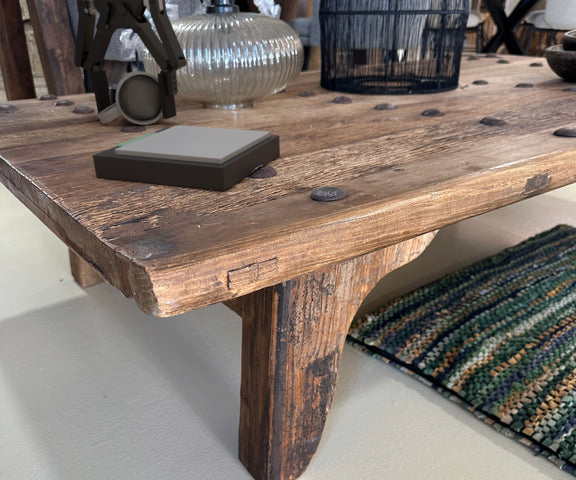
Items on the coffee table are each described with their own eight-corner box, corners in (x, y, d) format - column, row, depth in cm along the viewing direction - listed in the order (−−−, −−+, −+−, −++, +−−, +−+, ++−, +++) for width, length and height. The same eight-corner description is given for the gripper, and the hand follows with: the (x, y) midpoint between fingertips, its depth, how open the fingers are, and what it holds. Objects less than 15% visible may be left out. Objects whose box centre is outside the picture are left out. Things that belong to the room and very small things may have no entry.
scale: (96, 177, 63) (91, 149, 62) (168, 146, 76) (165, 122, 74) (224, 191, 58) (222, 161, 57) (280, 155, 70) (279, 130, 69)
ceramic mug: (164, 113, 96) (157, 65, 92) (170, 123, 89) (164, 70, 85) (98, 120, 93) (89, 70, 89) (100, 130, 86) (90, 76, 82)
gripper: (28, -41, 81) (60, 117, 91) (171, -50, 73) (190, 123, 83) (64, -39, 87) (91, 108, 97) (200, -48, 79) (214, 114, 89)
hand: (137, 115), depth 90 cm, fingers closed on ceramic mug, 11 cm apart
